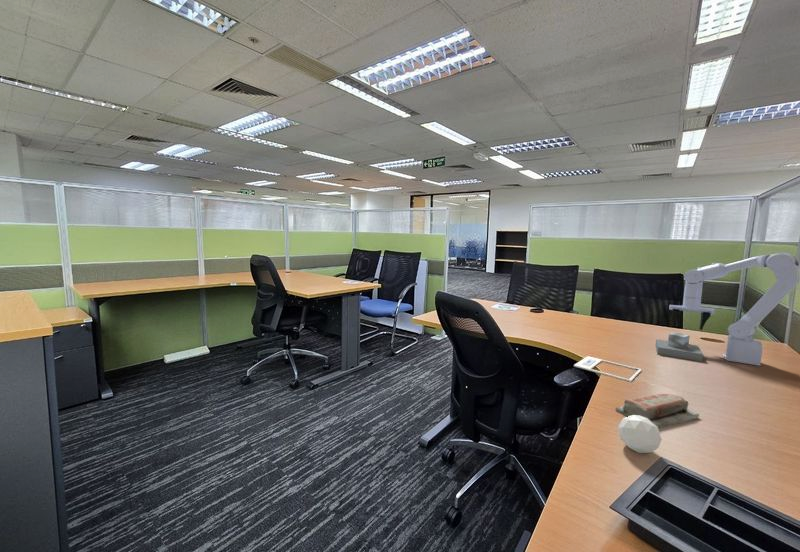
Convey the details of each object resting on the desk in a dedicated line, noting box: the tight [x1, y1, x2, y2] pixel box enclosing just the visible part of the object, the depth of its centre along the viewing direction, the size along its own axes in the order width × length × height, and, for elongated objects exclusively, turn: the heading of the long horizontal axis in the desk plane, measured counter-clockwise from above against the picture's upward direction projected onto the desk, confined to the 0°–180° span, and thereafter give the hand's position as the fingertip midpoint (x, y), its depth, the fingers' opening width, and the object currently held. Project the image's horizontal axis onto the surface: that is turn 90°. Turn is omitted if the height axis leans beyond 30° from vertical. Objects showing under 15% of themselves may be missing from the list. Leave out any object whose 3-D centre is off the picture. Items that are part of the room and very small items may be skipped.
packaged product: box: [615, 392, 700, 428], centre depth 89 cm, size 18×5×10 cm
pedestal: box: [655, 338, 704, 362], centre depth 139 cm, size 14×14×3 cm
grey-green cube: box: [667, 331, 690, 349], centre depth 138 cm, size 5×5×5 cm
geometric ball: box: [617, 415, 662, 454], centre depth 74 cm, size 8×8×8 cm
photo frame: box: [573, 355, 643, 383], centre depth 121 cm, size 15×1×18 cm
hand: (689, 327), depth 144 cm, fingers open, 7 cm apart
